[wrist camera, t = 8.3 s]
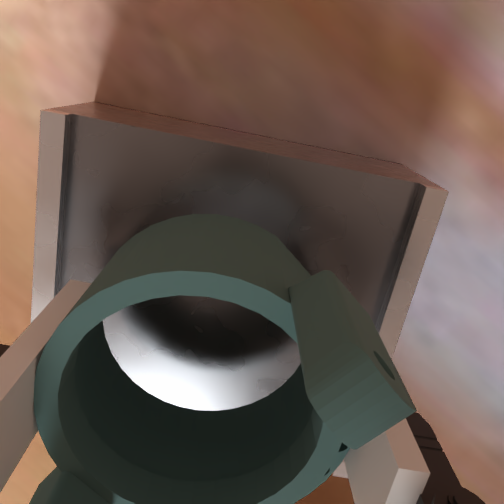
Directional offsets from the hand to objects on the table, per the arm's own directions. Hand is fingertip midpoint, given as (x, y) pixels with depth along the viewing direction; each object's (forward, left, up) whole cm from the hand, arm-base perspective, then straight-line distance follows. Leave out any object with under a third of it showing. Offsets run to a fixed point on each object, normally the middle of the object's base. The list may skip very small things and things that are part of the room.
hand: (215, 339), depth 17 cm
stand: (0, 0, -7) cm, 7 cm away
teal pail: (0, 0, -1) cm, 1 cm away
